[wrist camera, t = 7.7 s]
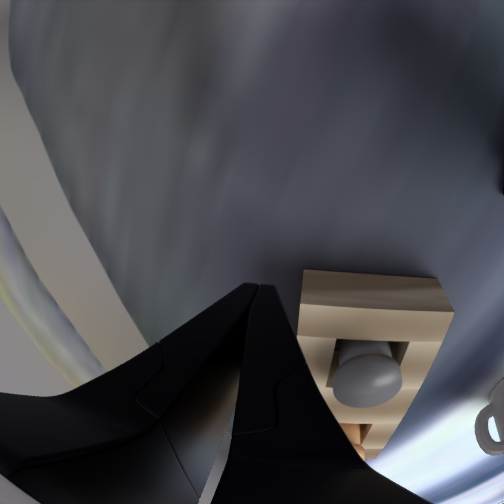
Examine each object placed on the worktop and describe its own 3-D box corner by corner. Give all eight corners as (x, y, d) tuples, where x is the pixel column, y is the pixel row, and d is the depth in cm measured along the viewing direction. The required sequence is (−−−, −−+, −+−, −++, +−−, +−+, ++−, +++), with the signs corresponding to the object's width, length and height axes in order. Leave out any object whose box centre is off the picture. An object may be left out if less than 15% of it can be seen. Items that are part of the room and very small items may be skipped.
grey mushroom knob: (396, 308, 21) (411, 364, 16) (382, 352, 24) (390, 408, 18) (337, 305, 22) (339, 363, 17) (329, 349, 24) (327, 406, 19)
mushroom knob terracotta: (368, 399, 25) (371, 452, 20) (357, 424, 27) (357, 472, 22) (319, 397, 26) (316, 450, 21) (313, 422, 28) (308, 470, 23)
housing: (303, 269, 22) (300, 303, 18) (437, 278, 20) (454, 312, 16) (286, 424, 31) (281, 454, 27) (374, 429, 29) (375, 458, 26)
